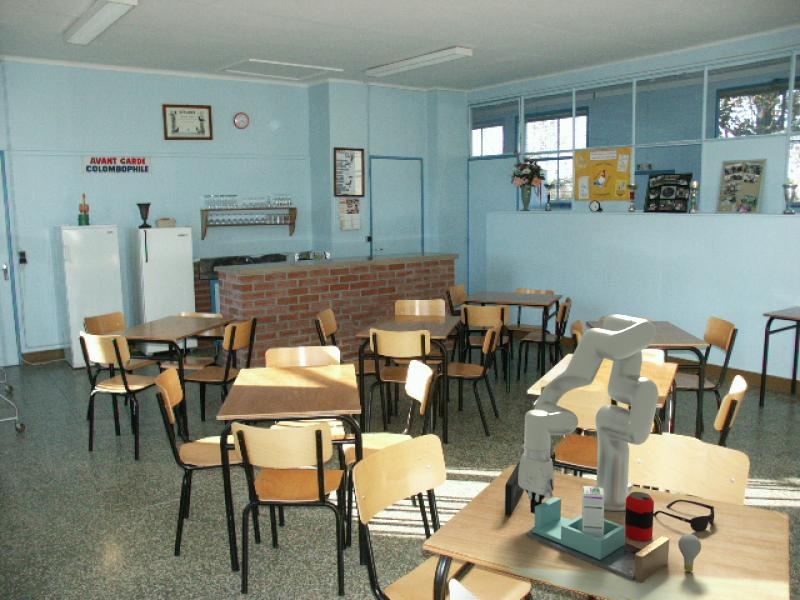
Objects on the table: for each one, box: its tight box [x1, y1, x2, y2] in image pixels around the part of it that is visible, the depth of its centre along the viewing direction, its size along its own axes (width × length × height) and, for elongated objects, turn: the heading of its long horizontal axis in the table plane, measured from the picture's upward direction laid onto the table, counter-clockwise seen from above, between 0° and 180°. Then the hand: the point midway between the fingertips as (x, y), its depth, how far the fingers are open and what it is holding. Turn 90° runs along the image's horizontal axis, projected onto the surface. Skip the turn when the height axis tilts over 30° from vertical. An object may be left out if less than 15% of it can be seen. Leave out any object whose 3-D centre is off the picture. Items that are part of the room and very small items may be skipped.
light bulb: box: [678, 533, 702, 573], centre depth 186 cm, size 6×5×10 cm
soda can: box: [624, 491, 655, 542], centre depth 206 cm, size 8×8×12 cm
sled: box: [531, 496, 626, 560], centre depth 202 cm, size 12×22×7 cm, turn 43°
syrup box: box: [581, 485, 605, 538], centre depth 198 cm, size 6×6×14 cm
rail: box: [525, 529, 670, 584], centre depth 199 cm, size 15×36×7 cm, turn 43°
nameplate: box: [504, 461, 525, 516], centre depth 229 cm, size 21×2×10 cm, turn 159°
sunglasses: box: [653, 499, 715, 533], centre depth 217 cm, size 14×16×5 cm
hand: (535, 512), depth 213 cm, fingers closed
